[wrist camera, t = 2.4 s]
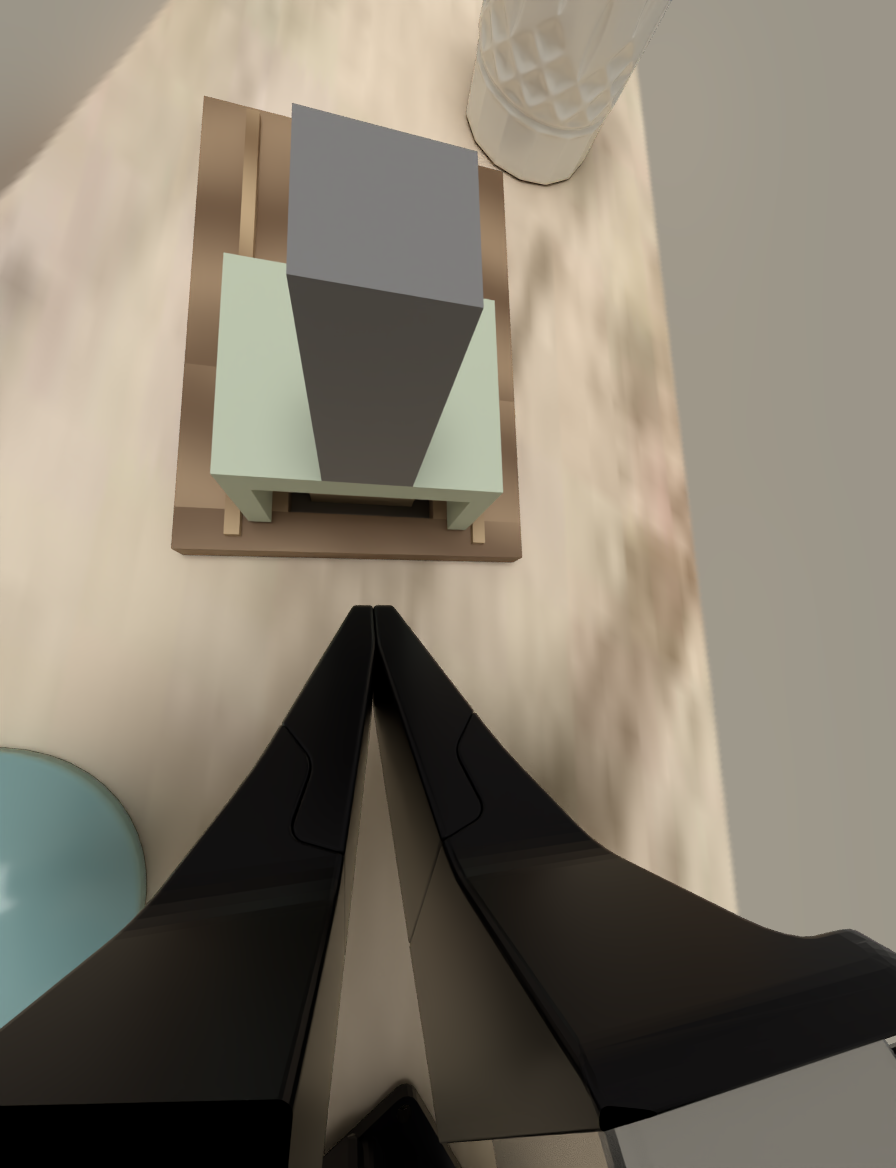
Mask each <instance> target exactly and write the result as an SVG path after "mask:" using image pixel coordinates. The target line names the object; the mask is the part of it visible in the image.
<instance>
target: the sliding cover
mask: <svg viewBox="0 0 896 1168" xmlns="http://www.w3.org/2000/svg"><path fill="white" fill-rule="evenodd" d="M210 474H211V475H212V477H213V478H214V479H215V480H216V482H217V483H218V484H219V485H220V486H221V488H222V489H223V490H224V491H225V493H226V494H227V495H228V496H229V498H230V499H231V500H232V501H233V502H234V504H235V505H236V506H237V507H238V509H239V510H240V511H241V512H242V513H243V515H244V516H245V517H246V518H247V520H248V521H257V522H271V519H272V493H273V491H282V492H299V493H316V494H334V495H351V496H369V497H386V498H404V499H421V500H439V501H447V529H452V530H466V529H467V528H468V527H469V526H470V525H471V524H472V523H473V522H474V521H475V520H476V519H477V518H478V517H479V516H480V515H481V514H482V513H483V512H484V511H485V510H486V509H487V508H488V507H489V506H490V505H491V504H492V503H493V502H494V501H495V500H496V499H497V498H498V497H499V496H500V495H501V494H502V493H503V478H502V456H501V433H500V411H499V389H498V366H497V344H496V322H495V301H494V300H489V299H483V278H482V254H481V229H480V204H479V180H478V155H477V151H473V150H469V149H466V148H462V147H458V146H454V145H450V144H447V143H443V142H439V141H435V140H431V139H427V138H424V137H420V136H416V135H412V134H408V133H405V132H401V131H397V130H393V129H389V128H386V127H382V126H378V125H374V124H370V123H367V122H363V121H359V120H355V119H351V118H348V117H344V116H340V115H336V114H332V113H329V112H325V111H321V110H317V109H313V108H309V107H306V106H302V105H298V104H294V103H292V122H291V150H290V178H289V206H288V234H287V262H286V263H280V262H274V261H269V260H263V259H258V258H252V257H246V256H241V255H235V254H229V253H223V270H222V286H221V303H220V319H219V336H218V352H217V369H216V385H215V402H214V418H213V435H212V451H211V468H210Z"/></svg>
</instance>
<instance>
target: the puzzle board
mask: <svg viewBox="0 0 896 1168" xmlns="http://www.w3.org/2000/svg"><path fill="white" fill-rule="evenodd" d="M291 122H292V118H289V117H286V116H282V115H278V114H274V113H270V112H266V111H262V110H258V109H254V108H250V107H246V106H242V105H238V104H234V103H231V102H227V101H223V100H219V99H215V98H211V97H207V96H204V102H203V116H202V130H201V144H200V157H199V171H198V185H197V199H196V212H195V226H194V240H193V254H192V267H191V281H190V295H189V309H188V322H187V336H186V350H185V364H184V377H183V391H182V405H181V419H180V432H179V446H178V460H177V474H176V487H175V501H174V515H173V529H172V543H171V549H173V550H175V551H177V552H179V553H181V554H183V555H226V556H269V557H313V558H356V559H400V560H443V561H487V562H514V561H516V560H518V559H520V558H522V547H521V527H520V507H519V488H518V468H517V448H516V428H515V408H514V388H513V368H512V349H511V329H510V309H509V289H508V269H507V249H506V229H505V210H504V190H503V172H501V171H498V170H494V169H490V168H486V167H482V166H478V180H479V204H480V229H481V254H482V278H483V299H489V300H494V301H495V322H496V344H497V366H498V389H499V411H500V433H501V456H502V478H503V493H502V494H501V495H500V496H499V497H498V498H497V499H496V500H495V501H494V502H493V503H492V504H491V505H490V506H489V507H488V508H487V509H486V510H485V511H484V512H483V513H482V514H481V515H480V516H479V517H478V518H477V519H476V520H475V521H474V522H473V523H472V524H471V525H470V526H469V527H468V528H467V529H466V530H452V529H447V501H439V500H421V499H415V500H414V502H413V504H412V506H411V507H409V506H390V505H371V504H352V503H333V502H314V501H311V497H310V494H309V493H299V492H282V491H273V493H272V519H271V522H257V521H248V520H247V518H246V517H245V516H244V515H243V513H242V512H241V511H240V510H239V509H238V507H237V506H236V505H235V504H234V502H233V501H232V500H231V499H230V498H229V496H228V495H227V494H226V493H225V491H224V490H223V489H222V488H221V486H220V485H219V484H218V483H217V482H216V480H215V479H214V478H213V477H212V475H211V474H210V468H211V451H212V435H213V418H214V402H215V385H216V369H217V352H218V336H219V319H220V303H221V286H222V270H223V253H229V254H235V255H241V256H246V257H252V258H258V259H263V260H269V261H274V262H280V263H286V262H287V234H288V206H289V178H290V150H291Z"/></svg>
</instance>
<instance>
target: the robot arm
mask: <svg viewBox="0 0 896 1168" xmlns="http://www.w3.org/2000/svg"><path fill="white" fill-rule="evenodd" d="M372 702H373V709H374V717H375V724H376V730H377V737H378V743H379V750H380V756H381V763H382V769H383V776H384V782H385V789H386V795H387V802H388V809H389V815H390V822H391V828H392V835H393V841H394V848H395V854H396V861H397V867H398V874H399V880H400V887H401V894H402V900H403V907H404V913H405V920H406V926H407V933H408V939H409V943H410V953H411V959H412V966H413V972H414V979H415V986H416V992H417V999H418V1005H419V1012H420V1018H421V1025H422V1031H423V1038H424V1044H425V1051H426V1057H427V1064H428V1070H429V1077H430V1083H431V1090H432V1097H433V1103H434V1110H435V1116H436V1123H437V1125H436V1124H435V1122H434V1120H433V1118H432V1117H431V1115H430V1113H429V1112H428V1110H427V1108H426V1106H425V1105H424V1103H423V1101H422V1100H421V1098H420V1096H419V1094H418V1093H417V1091H416V1089H415V1088H414V1087H413V1086H412V1085H409V1084H403V1085H400V1086H399V1087H397V1088H396V1089H395V1090H394V1091H393V1092H392V1093H390V1094H389V1095H388V1096H387V1097H386V1098H385V1099H384V1100H383V1101H382V1102H381V1103H380V1104H379V1105H378V1106H377V1107H376V1108H375V1109H374V1110H372V1111H371V1112H370V1113H369V1114H368V1115H367V1116H366V1117H365V1118H364V1119H363V1120H362V1121H361V1122H360V1123H359V1124H358V1125H357V1126H356V1127H355V1128H353V1129H352V1130H351V1131H350V1132H349V1133H348V1134H347V1135H346V1136H345V1137H344V1138H343V1139H342V1140H341V1141H340V1142H339V1143H338V1144H337V1145H335V1146H334V1147H333V1148H332V1149H331V1150H330V1151H329V1152H328V1153H327V1154H326V1155H325V1156H324V1157H323V1152H324V1143H325V1133H326V1124H327V1115H328V1106H329V1097H330V1088H331V1079H332V1070H333V1061H334V1052H335V1043H336V1034H337V1025H338V1016H339V1006H340V997H341V988H342V979H343V970H344V961H345V952H346V943H347V934H348V925H349V916H350V906H351V897H352V888H353V879H354V870H355V861H356V852H357V843H358V834H359V825H360V816H361V807H362V798H363V789H364V780H365V770H366V761H367V752H368V743H369V734H370V725H371V716H372ZM473 712H474V711H473V709H472V708H471V706H470V705H469V704H468V702H467V701H466V700H465V698H464V697H463V696H462V695H461V693H460V692H459V691H458V689H457V688H456V687H455V686H454V684H453V683H452V682H451V680H450V679H449V678H448V676H447V675H446V674H445V673H444V671H443V670H442V669H441V667H440V666H439V665H438V664H437V662H436V661H435V660H434V658H433V657H432V656H431V654H430V653H429V652H428V651H427V649H426V648H425V647H424V645H423V644H422V643H421V642H420V640H419V639H418V638H417V636H416V635H415V634H414V633H413V631H412V630H411V629H410V627H409V626H408V625H407V623H406V622H405V621H404V620H403V618H402V617H401V616H400V614H399V613H398V612H397V611H396V609H395V608H394V607H393V606H391V605H376V606H374V608H373V607H372V606H370V605H356V606H353V607H352V608H351V610H350V612H349V613H348V615H347V617H346V618H345V620H344V622H343V623H342V625H341V626H340V628H339V630H338V631H337V633H336V635H335V636H334V638H333V640H332V641H331V643H330V645H329V646H328V648H327V649H326V651H325V653H324V654H323V656H322V658H321V659H320V661H319V663H318V664H317V666H316V668H315V669H314V671H313V673H312V674H311V676H310V677H309V679H308V681H307V682H306V684H305V686H304V687H303V689H302V691H301V692H300V694H299V696H298V697H297V699H296V700H295V702H294V704H293V705H292V707H291V709H290V710H289V712H288V714H287V715H286V717H285V719H284V720H283V722H282V725H281V726H280V727H279V728H278V730H277V731H276V733H275V735H274V736H273V738H272V740H271V741H270V743H269V744H268V746H267V747H266V749H265V751H264V752H263V754H262V755H261V757H260V758H259V760H258V761H257V763H256V764H255V766H254V767H253V769H252V770H251V772H250V773H249V774H248V776H247V777H246V778H245V780H244V781H243V783H242V784H241V785H240V787H239V788H238V789H237V791H236V792H235V793H234V795H233V796H232V797H231V799H230V800H229V801H228V803H227V804H226V805H225V806H224V808H223V809H222V810H221V812H220V813H219V814H218V815H217V817H216V818H215V819H214V821H213V822H212V823H211V824H210V826H209V827H208V828H207V830H206V831H205V832H204V833H203V835H202V836H201V837H200V839H199V840H198V841H197V842H196V844H195V845H194V846H193V848H192V849H191V850H190V851H189V853H188V854H187V855H186V857H185V858H184V859H183V860H182V862H181V863H180V864H179V865H178V867H177V868H176V869H175V871H174V872H173V873H172V874H171V876H170V877H169V878H168V880H167V881H166V882H165V883H164V884H163V886H162V887H161V888H160V889H159V891H158V892H157V893H156V894H155V895H154V897H153V898H152V899H151V900H150V901H149V902H148V903H147V904H146V906H145V907H144V908H143V909H142V910H141V911H140V912H139V913H138V914H137V915H136V916H135V917H134V918H133V919H132V920H131V921H130V922H129V923H128V924H127V925H126V926H125V927H124V928H123V929H122V930H120V931H119V932H118V933H117V934H116V935H115V936H114V937H113V938H111V939H110V940H109V941H108V942H107V943H105V944H104V945H103V946H102V947H100V948H99V949H98V950H97V951H96V952H94V953H93V954H92V955H91V956H89V957H88V958H87V959H86V960H84V961H83V962H82V963H81V964H79V965H78V966H77V967H76V968H75V969H73V970H72V971H71V972H70V973H68V974H67V975H66V976H65V977H63V978H62V979H61V980H60V981H58V982H57V983H56V984H55V985H53V986H52V987H51V988H50V989H49V990H47V991H46V992H45V993H44V994H42V995H41V996H40V997H39V998H37V999H36V1000H35V1001H34V1002H32V1003H31V1004H30V1005H29V1006H28V1007H26V1008H25V1009H24V1010H23V1011H21V1012H20V1013H19V1014H18V1015H16V1016H15V1017H14V1018H13V1019H11V1020H10V1021H9V1022H8V1023H7V1024H5V1025H4V1026H3V1027H2V1028H0V1168H461V1167H460V1165H459V1163H458V1161H457V1160H456V1158H455V1156H454V1154H453V1153H452V1151H451V1149H450V1148H449V1146H448V1144H447V1143H453V1142H467V1141H481V1140H493V1146H494V1152H495V1159H496V1165H497V1168H896V1043H893V1044H890V1045H888V1043H887V1042H886V1040H885V1039H887V1038H890V1037H892V1036H895V1035H896V953H895V952H893V951H892V950H890V949H889V948H886V947H884V946H883V945H881V944H879V943H877V942H876V941H874V940H872V939H871V938H869V937H867V936H865V935H864V934H862V933H860V932H858V931H856V930H852V929H843V930H837V931H832V932H828V933H824V934H820V935H816V936H805V937H800V936H795V935H789V934H784V933H781V932H778V931H774V930H771V929H768V928H765V927H762V926H760V925H758V924H756V923H753V922H751V921H749V920H746V919H744V918H742V917H740V916H738V915H736V914H734V913H732V912H730V911H728V910H726V909H724V908H722V907H720V906H718V905H716V904H714V903H712V902H710V901H708V900H706V899H704V898H702V897H700V896H698V895H696V894H694V893H692V892H690V891H688V890H686V889H684V888H682V887H680V886H678V885H676V884H674V883H672V882H670V881H668V880H666V879H664V878H662V877H660V876H658V875H656V874H654V873H652V872H649V871H647V870H645V869H643V868H641V867H639V866H637V865H635V864H633V863H631V862H629V861H627V860H625V859H623V858H621V857H620V856H618V855H616V854H614V853H613V852H611V851H609V850H608V849H606V848H605V847H603V846H602V845H601V844H599V843H598V842H597V841H595V840H594V839H593V838H592V837H590V836H589V835H588V834H587V833H586V832H585V831H583V830H582V829H581V828H580V827H579V826H578V825H577V824H576V823H575V822H574V821H573V820H572V819H571V818H570V817H569V816H568V815H567V814H566V813H565V811H564V810H563V809H562V808H561V807H560V806H559V805H558V804H557V803H556V802H555V801H554V800H553V799H552V798H551V797H550V796H549V795H548V794H547V793H546V792H545V791H544V790H543V789H542V788H541V787H540V786H539V785H538V784H537V783H536V782H535V780H534V779H533V778H532V777H531V776H530V775H529V774H528V773H527V772H526V771H525V770H524V769H523V768H522V767H521V766H520V765H519V764H518V763H517V762H516V760H515V759H514V758H513V757H512V756H511V755H510V754H509V753H508V752H507V751H506V750H505V749H504V747H503V746H502V745H501V744H500V743H499V741H498V740H497V739H496V738H495V737H494V735H493V734H492V733H491V732H490V730H489V729H488V728H487V727H486V726H485V724H484V723H483V722H482V720H481V719H480V718H479V716H478V715H477V714H476V713H473ZM403 1105H409V1106H408V1107H407V1108H406V1109H404V1110H399V1109H400V1107H402V1106H403Z"/></svg>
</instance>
